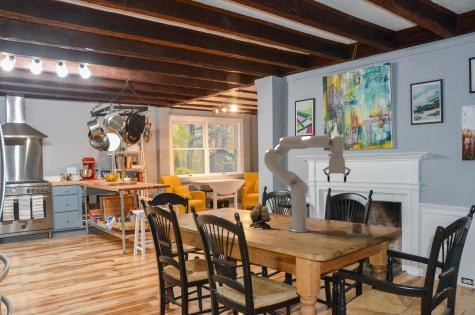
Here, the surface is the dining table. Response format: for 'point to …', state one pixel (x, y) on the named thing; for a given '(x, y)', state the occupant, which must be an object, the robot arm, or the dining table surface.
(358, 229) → the cube
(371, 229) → the dining table surface
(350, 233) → the trivet
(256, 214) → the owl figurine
